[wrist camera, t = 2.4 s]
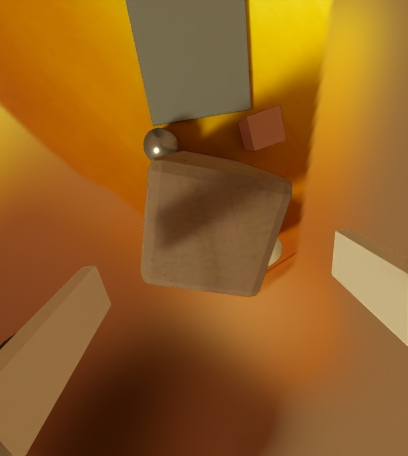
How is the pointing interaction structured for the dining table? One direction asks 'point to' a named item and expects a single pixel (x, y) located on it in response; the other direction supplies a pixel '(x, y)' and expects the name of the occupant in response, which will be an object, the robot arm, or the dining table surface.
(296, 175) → the dining table surface
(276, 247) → the cream rounded cylinder
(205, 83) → the mat
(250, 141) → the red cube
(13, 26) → the dining table surface
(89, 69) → the dining table surface
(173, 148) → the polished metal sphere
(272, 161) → the dining table surface
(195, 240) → the wooden block
